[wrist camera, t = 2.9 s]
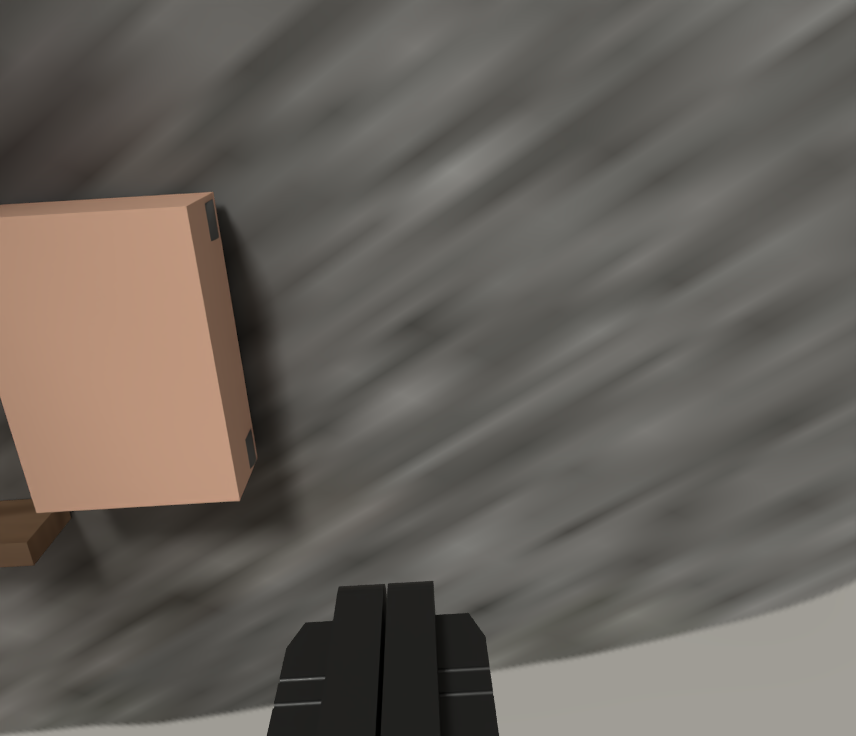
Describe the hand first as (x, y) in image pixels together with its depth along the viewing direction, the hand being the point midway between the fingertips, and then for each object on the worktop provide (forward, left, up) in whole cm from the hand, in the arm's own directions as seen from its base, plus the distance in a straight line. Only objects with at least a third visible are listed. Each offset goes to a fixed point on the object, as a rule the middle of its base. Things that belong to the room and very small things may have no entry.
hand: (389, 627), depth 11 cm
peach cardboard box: (0, -9, -15) cm, 18 cm away
